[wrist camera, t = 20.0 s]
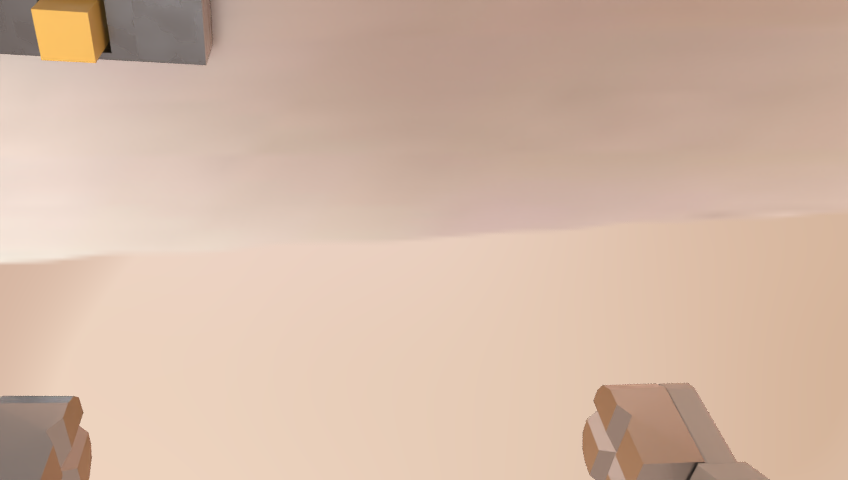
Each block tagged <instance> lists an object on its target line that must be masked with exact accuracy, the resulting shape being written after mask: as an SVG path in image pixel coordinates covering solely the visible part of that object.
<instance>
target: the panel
mask: <svg viewBox="0 0 848 480" xmlns="http://www.w3.org/2000/svg"><path fill="white" fill-rule="evenodd" d="M38 1H39V0H0V54H14V55H32V56H41V55H40V51H39V46H38V41H37V36H36V31H35V27H34V22H33V17H32V12H31V8H32V7H33V6H34V5H35V4H36V3H37V2H38ZM104 5H105V11H106V18H107V25H108V32H109V38H110V41H109V43H108V45H107V46H106V48H105V49H104V51H103V52H102V54H101V56H100V57H99V59H105V60H123V61H142V62H160V63H178V64H196V65H206V64H207V60H208V57H209V54H210V51H211V48H212V45H213V38H212V23H211V7H210V0H104Z"/></svg>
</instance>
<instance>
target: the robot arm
mask: <svg viewBox="0 0 848 480" xmlns="http://www.w3.org/2000/svg"><path fill="white" fill-rule="evenodd" d="M594 403H595V406H596V408H597V411H596V412H595V413H594V414H592V415H591V416H590V417H589V418H587V420H586V424H585V427H584V430H583V454H584V459H585V463H586V466H587V469H588V472H589V474H590V476H592V477H593V478H594V479H595V480H770V479H768V478H766V477H765V476H764V475H763V474H761V473H760V472H759V471H757V470H756V469H754V468H753V467H752V466H750V465H749V464H748V463H746V462H737V461H736V459H735V457H734V456H733V454H732V452H731V450H730V449H729V447H728V445H727V444H726V442H725V440H724V438H723V437H722V435H721V433H720V431H719V430H718V428H717V426H716V424H715V423H714V421H713V419H712V418H711V416H710V414H709V412H708V411H707V409H706V407H705V405H704V404H703V402H702V400H701V399H700V397H699V395H698V393H697V392H696V390H695V388H694V387H693V386H691V385H690V384H689V383H671V384H670V383H667V384H656V383H654V384H627V385H626V384H625V385H624V384H623V385H603V386H601V387H600V388H599V389H598V390H597V393H596V395H595V398H594ZM82 415H83V410H82V407H81V403H80V400H79V398H78V397H75V396H0V480H89V476H90V466H91V459H92V456H91V442H90V438H89V433H88V432H87V431H86V430H84V429H83V428H81V427H80V426H79V424H80V421H81V418H82Z"/></svg>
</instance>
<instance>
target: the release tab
mask: <svg viewBox="0 0 848 480" xmlns="http://www.w3.org/2000/svg"><path fill="white" fill-rule="evenodd" d="M31 12H32V17H33V22H34V27H35V31H36V36H37V41H38V46H39V51H40V55H41V60H50V61H68V62H87V63H96V62H97V60H98V59H99V57H100V56H101V54H102V52H103V51H104V49H105V48H106V46H107V45H108V43H109V41H110V38H109V32H108V25H107V18H106V11H105V5H104V0H39V1H38V2H37V3H36V4H35V5H34V6H33V7H32V8H31Z"/></svg>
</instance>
